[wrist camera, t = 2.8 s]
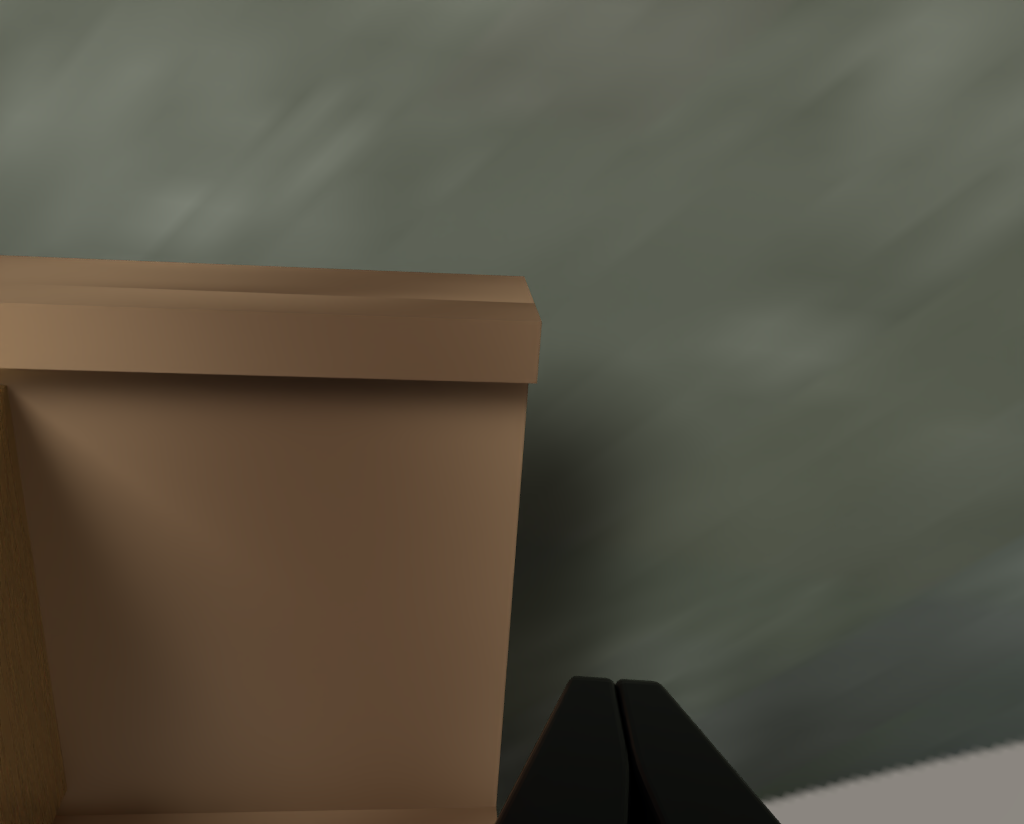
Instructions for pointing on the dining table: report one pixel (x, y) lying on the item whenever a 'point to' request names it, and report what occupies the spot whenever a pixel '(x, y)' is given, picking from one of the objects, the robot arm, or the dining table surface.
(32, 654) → the brass rider
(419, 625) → the balance beam
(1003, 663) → the dining table surface
